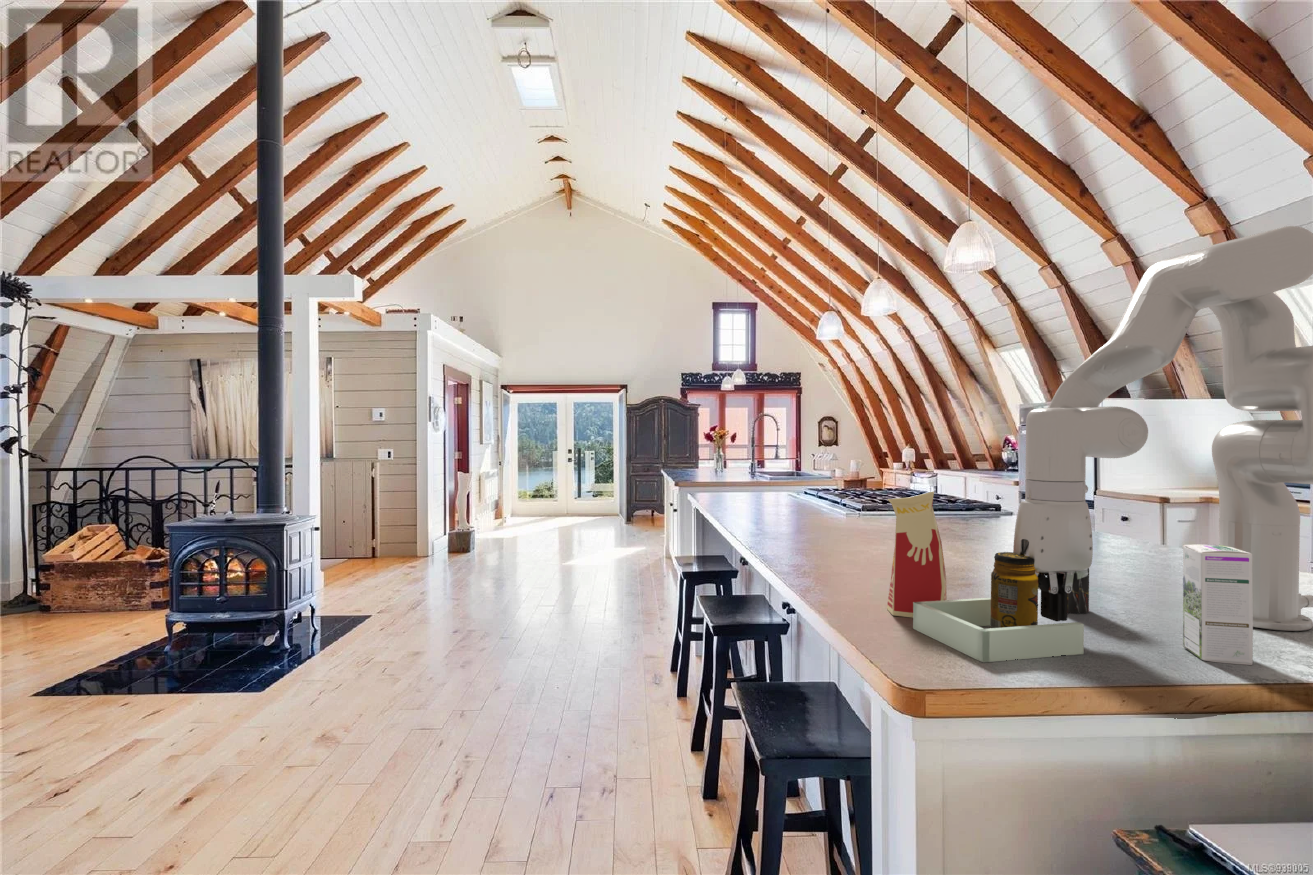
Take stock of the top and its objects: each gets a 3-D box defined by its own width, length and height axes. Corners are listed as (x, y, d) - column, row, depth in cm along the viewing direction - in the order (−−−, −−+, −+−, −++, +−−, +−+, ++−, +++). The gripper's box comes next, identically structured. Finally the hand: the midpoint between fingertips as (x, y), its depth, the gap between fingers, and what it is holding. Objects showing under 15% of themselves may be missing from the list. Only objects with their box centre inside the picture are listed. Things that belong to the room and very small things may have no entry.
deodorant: (1096, 614, 109) (1098, 522, 109) (1060, 613, 110) (1061, 522, 109) (1074, 604, 115) (1075, 517, 115) (1040, 604, 115) (1040, 517, 115)
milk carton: (946, 608, 113) (947, 489, 113) (945, 622, 104) (946, 494, 104) (889, 602, 117) (890, 487, 116) (883, 615, 108) (884, 491, 108)
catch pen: (1002, 622, 104) (1002, 596, 104) (1083, 654, 90) (1083, 624, 90) (913, 628, 101) (913, 602, 101) (982, 662, 86) (982, 631, 86)
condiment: (1052, 641, 95) (1053, 557, 95) (1009, 649, 92) (1009, 561, 92) (1007, 627, 102) (1008, 548, 101) (965, 634, 98) (966, 552, 98)
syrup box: (1255, 666, 85) (1256, 552, 85) (1199, 661, 87) (1201, 549, 87) (1231, 651, 91) (1233, 545, 91) (1180, 647, 93) (1181, 542, 92)
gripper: (1076, 489, 103) (1075, 608, 103) (992, 491, 99) (991, 614, 100) (1120, 494, 95) (1118, 622, 96) (1030, 496, 92) (1029, 629, 92)
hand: (1053, 618), depth 98 cm, fingers closed
